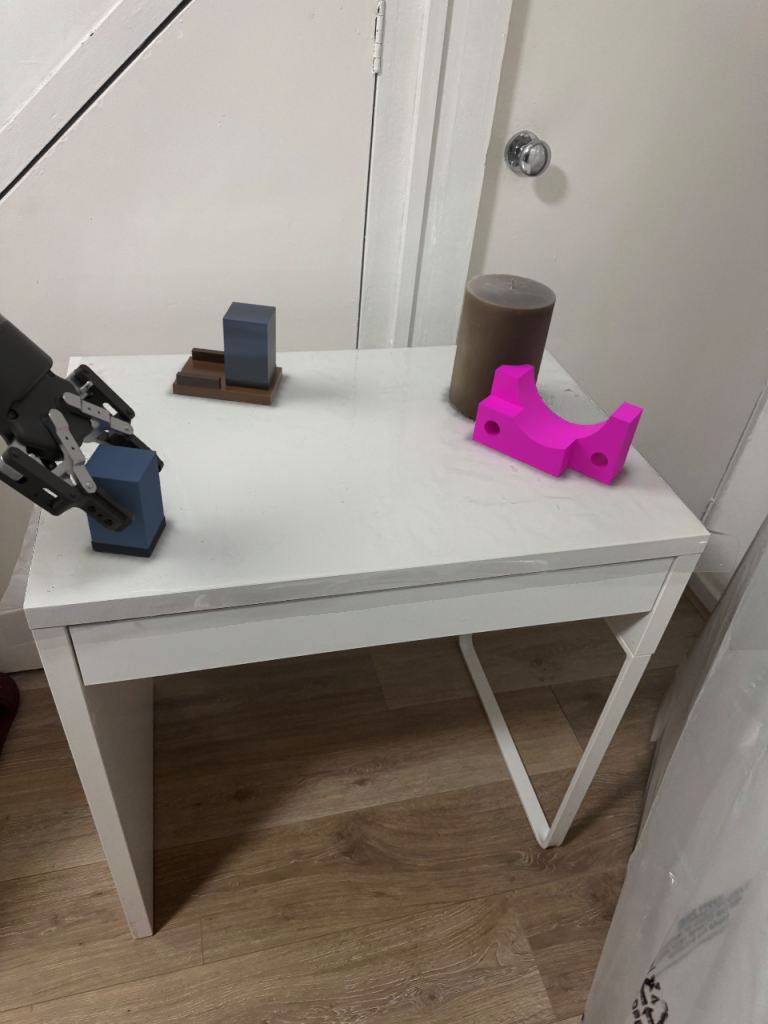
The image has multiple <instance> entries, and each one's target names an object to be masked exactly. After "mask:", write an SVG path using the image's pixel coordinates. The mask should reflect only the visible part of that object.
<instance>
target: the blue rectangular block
mask: <svg viewBox="0 0 768 1024" xmlns="http://www.w3.org/2000/svg"><path fill="white" fill-rule="evenodd" d="M152 450H153V449H151V450H144V449H136V448H128V447H120V446H112V445H104V444H98V445H97V447H96V448H95V450H94V451H93V452H92V454H91V456H90V457H89V459H88V460H87V462H85V467H86V469H87V471H88V472H89V474H90V476H91V477H92V479H93V481H94V482H95V484H96V487H97V488H98V487H100V486H101V487H102V488H103V489H105V490H106V491H107V492H108V493H109V494H111V495H112V496H113V497H114V498H116V499H117V500H118V501H119V502H121V503H122V504H123V505H124V506H126V507H127V508H128V509H129V510H130V511H132V512H133V513H134V514H135V519H134V520H133V522H132V524H131V525H130V526H128V527H127V528H126V529H124V530H123V531H122V532H115V531H110V530H108V529H106V528H105V527H103V526H102V525H101V524H99V523H98V522H97V521H96V520H94V519H93V518H92V517H90V516H89V515H88V514H87V513H85V514H86V519H87V523H88V528H89V533H90V539H91V542H90V543H91V547H92V551H95V552H102V553H103V552H104V553H108V554H109V553H110V554H117V555H125V556H134V557H143V558H150V557H151V556H152V554H153V552H154V550H155V548H156V546H157V544H158V542H159V540H160V538H161V536H162V534H163V532H164V530H165V527H166V525H167V519H166V515H165V511H164V503H163V495H162V486H161V479H160V472H159V469H158V461H157V455H158V453H157V451H156V450H153V451H152Z"/></svg>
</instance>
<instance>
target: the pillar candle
mask: <svg viewBox="0 0 768 1024" xmlns="http://www.w3.org/2000/svg"><path fill="white" fill-rule="evenodd" d="M556 301H557V295H556V293H555V292H554V290H553V289H551V287H549V286H548V285H546V284H545V283H544V282H541V281H538V280H536V279H534V278H530V277H523V276H519V275H514V274H510V273H509V274H508V273H488V274H481V275H474V276H472V278H470V280H468V282H467V284H466V287H465V293H464V299H463V307H462V313H461V318H460V325H459V332H458V337H457V343H456V349H455V353H454V360H453V361H454V362H453V367H452V372H451V378H450V385H449V392H448V396H449V401H450V402H451V404H452V405H453V407H454V408H455V409H456V410H457V411H458V412H459V413H461V414H462V415H465V416H466V417H468V418H471V419H472V420H476V417H477V411H478V406H479V403H480V402H482V401H483V400H484V399H486V398H487V397H488V396H490V395H491V390H492V385H493V380H494V375H495V370H496V369H498V368H499V367H500V366H502V365H514V366H517V365H525V364H529V365H532V366H534V378H535V384H536V385H537V383H538V378H539V374H540V370H541V365H542V361H543V357H544V353H545V349H546V344H547V340H548V337H549V336H548V335H549V331H550V326H551V323H552V318H553V315H554V309H555V304H556Z"/></svg>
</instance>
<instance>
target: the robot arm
mask: <svg viewBox="0 0 768 1024" xmlns="http://www.w3.org/2000/svg"><path fill="white" fill-rule="evenodd" d="M53 366H54V360H53V358H52V357H51V356H50V355H49V354H48V353H47V352H46V351H45V350H44V349H42V348H41V347H40V346H39V345H37V343H35V342H34V341H33V340H32V339H31V338H30V337H29V336H27V335H26V334H25V333H24V332H23V331H22V330H21V329H19V328H18V327H17V326H16V325H14V324H13V322H11V320H9V319H8V318H7V317H6V316H4V315H3V314H2V313H1V312H0V436H1V438H2V439H3V441H4V442H5V444H6V445H7V446H6V448H5V450H4V452H3V453H2V454H0V482H3V483H4V484H6V485H7V486H9V487H10V488H11V489H13V490H15V491H16V492H18V493H19V494H20V495H21V496H23V497H25V498H26V499H28V500H29V501H31V502H32V503H34V504H35V505H36V506H38V507H40V508H41V509H42V510H44V511H45V512H47V513H49V514H50V515H51V516H53V517H60V516H62V515H63V514H64V513H65V512H67V511H69V510H71V509H73V508H74V509H75V508H77V509H80V510H81V511H83V512H84V513H85V514H86V513H87V514H88V515H89V516H90V517H92V518H93V519H94V520H96V521H97V522H98V523H99V524H101V525H102V526H103V527H105V528H106V529H108V530H110V531H115V532H122V531H123V530H124V529H126V528H127V527H128V526H130V525H131V524H132V522H133V520H134V519H135V514H134V513H133V512H132V511H130V510H129V509H128V508H127V507H126V506H124V505H123V504H122V503H121V502H119V501H118V500H117V499H116V498H114V497H113V496H112V495H111V494H109V493H108V492H107V491H106V490H105V489H103V488H102V487H101V486H100V487H98V488H97V487H96V484H95V482H94V481H93V479H92V477H91V476H90V474H89V472H88V471H87V469H86V467H85V464H86V456H85V455H84V453H83V451H82V449H81V447H82V446H83V444H91V443H96V444H98V445H99V444H104V445H112V446H120V447H128V448H136V449H144V450H152V451H154V450H153V449H152V448H150V447H149V446H148V445H147V444H146V443H145V442H144V441H143V440H141V439H140V438H139V437H138V436H137V435H135V433H134V431H135V430H134V427H133V425H132V420H133V419H134V418H135V417H136V412H135V411H134V409H133V408H132V407H131V406H130V405H129V404H128V403H126V401H125V400H124V399H123V398H122V397H121V396H120V395H119V394H118V393H117V392H115V391H114V389H113V388H112V387H110V386H109V385H108V384H107V383H106V382H105V381H104V380H103V379H102V378H101V377H100V376H99V375H98V374H97V373H96V372H95V371H94V370H92V369H91V367H90V366H89V365H87V364H85V363H81V364H79V365H78V367H77V368H75V369H73V370H72V371H71V372H70V373H69V375H67V377H66V378H64V377H61V376H59V375H57V374H56V373H54V372H53V371H52V370H51V369H52V368H53ZM104 404H108V405H109V406H110V407H111V408H112V409H113V410H114V411H115V412H116V413H115V414H112V412H110V410H108V409H107V408H106V407H105V406H104ZM157 461H158V469H159V473H161V472H162V470H163V468H164V467H165V463H164V461H163V460H162V459H161V458H160V457H159V455H158V454H157ZM59 462H60V463H59ZM58 463H59V464H58ZM71 477H72V479H73V481H72V479H71ZM73 482H75V484H74V483H73ZM47 490H48V491H49V492H48V491H47ZM50 492H51V493H52V494H53V495H52V494H51V493H50ZM54 495H55V496H54ZM87 514H86V515H87Z"/></svg>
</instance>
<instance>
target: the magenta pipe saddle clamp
mask: <svg viewBox="0 0 768 1024" xmlns="http://www.w3.org/2000/svg"><path fill="white" fill-rule="evenodd" d="M643 411H644V408H643V407H640V406H638V405H636V404H633V403H630V402H627V401H625V400H624V401H623V402H622V403H621V404H620V405H619V406H618V407H617V408H616V409H615V410H614V411H613V412H612V413H611V414H610V415H609V417H608V419H605V420H603V421H601V422H597V423H592V424H582V423H580V424H579V423H574V422H571V421H569V420H567V419H565V418H562V417H561V416H559V415H558V414H557V413H555V412H554V411H553V410H552V409H551V408H550V407H549V406H548V405H547V404H546V403H545V401H544V400H543V398H542V397H541V395H540V392H539V390H538V387H537V383H536V384H535V378H534V366H532V365H529V364H525V365H517V366H514V365H502V366H500V367H499V368H498V369H496V370H495V375H494V380H493V385H492V390H491V395H490V396H488V397H487V398H486V399H484V400H483V401H482V402H480V403H479V406H478V411H477V417H476V419H475V422H474V428H473V433H472V438H471V439H472V440H473V441H476V442H478V443H480V444H482V445H484V446H486V447H489V448H491V449H493V450H495V451H499V452H500V453H502V454H504V455H506V456H509V457H511V458H514V459H515V460H517V461H520V462H523V463H524V464H527V465H529V466H531V467H534V468H536V469H538V470H540V471H542V472H545V473H547V474H549V475H551V476H554V477H556V478H558V477H560V476H561V474H563V472H564V471H565V470H566V469H567V468H569V469H572V470H574V471H576V472H578V473H581V474H582V475H585V476H588V477H590V478H592V479H594V480H596V481H598V482H602V483H604V484H605V485H608V486H610V484H611V483H612V482H613V481H614V480H615V479H616V477H617V476H618V475H619V474H620V473H621V471H622V470H623V469H624V465H625V463H626V461H627V457H628V454H629V451H630V448H631V447H632V442H633V440H634V437H635V434H636V431H637V429H638V426H639V424H640V420H641V417H642V414H643Z"/></svg>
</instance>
